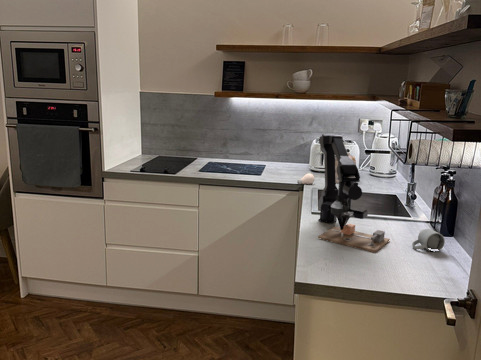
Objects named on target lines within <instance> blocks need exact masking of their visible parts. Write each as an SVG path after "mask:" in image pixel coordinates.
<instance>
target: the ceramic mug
mask: <svg viewBox="0 0 481 360" xmlns="http://www.w3.org/2000/svg"><path fill="white" fill-rule="evenodd" d="M445 243H446V242H445V237H444V235H443V234H441V233H439V232H437V231H436V230H434V229H431V228H424V229H422V230H421V231H420V232H419V233H418V235H417V239H415V241H413V242H412V244H411V246H412V249H414V248H415V249H420V250H423V249H426V250H427V251H429V252H430V251H431V250H429V249H428V248H431V249H438V250H440V251H441V250H442V249H443V247H444V246H445ZM419 244H420V245H419ZM415 249H414V250H415Z"/></svg>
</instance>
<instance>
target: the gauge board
mask: <svg viewBox="0 0 481 360" xmlns="http://www.w3.org/2000/svg"><path fill="white" fill-rule="evenodd" d="M385 234H386V231H384V230H379V229H377V230H375V231H374V232H373V233H372V234H369V233H364V232H361V231H356V230H355V232H354V233H352V234H351V235H348V234H343V237H341V229H340V226H339V227H338V226H336V225H335V226H332V227H331V228H329V229H328V230H326V231H325V232H323V233H321V234H319V235H317V239H318V238H321V239H320V240H322V239H324V240H323V241H326V240H328V241H327V242H330V241H332V242H331V243H334V242H335V244H338V243H339V245H342V244H343V246H346V245H347V247H350V246H351V248H354V247H356V249H358V248H359V250H362V249H363V250H362V251H366V250H367V252H370V251H371V253H374V252H376V253H377V252H378V251H380V250H381V249H382V248H384V247H385V246H386V245H387V244H388V243H389V242H390V241H391V240H390V238H387V237H385ZM389 240H390V241H389ZM388 241H389V242H388ZM387 242H388V243H387ZM386 243H387V244H386ZM385 244H386V245H385Z"/></svg>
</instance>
